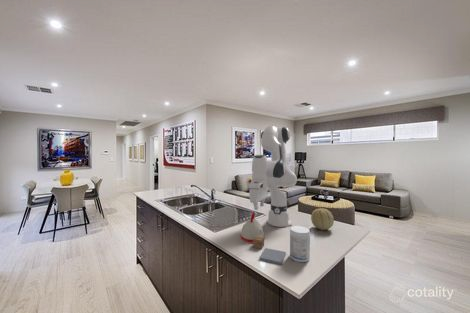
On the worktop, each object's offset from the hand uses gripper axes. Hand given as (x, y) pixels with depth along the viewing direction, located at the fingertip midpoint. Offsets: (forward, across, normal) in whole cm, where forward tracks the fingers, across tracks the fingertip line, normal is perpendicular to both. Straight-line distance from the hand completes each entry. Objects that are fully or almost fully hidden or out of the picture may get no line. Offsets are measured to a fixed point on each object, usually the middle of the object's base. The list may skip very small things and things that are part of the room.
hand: (259, 208), depth 113 cm
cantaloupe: (+21, -46, +30) cm, 59 cm away
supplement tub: (+22, +2, +22) cm, 32 cm away
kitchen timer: (+22, -10, -8) cm, 25 cm away
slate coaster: (+22, +7, +10) cm, 25 cm away
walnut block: (+22, 0, 0) cm, 22 cm away
